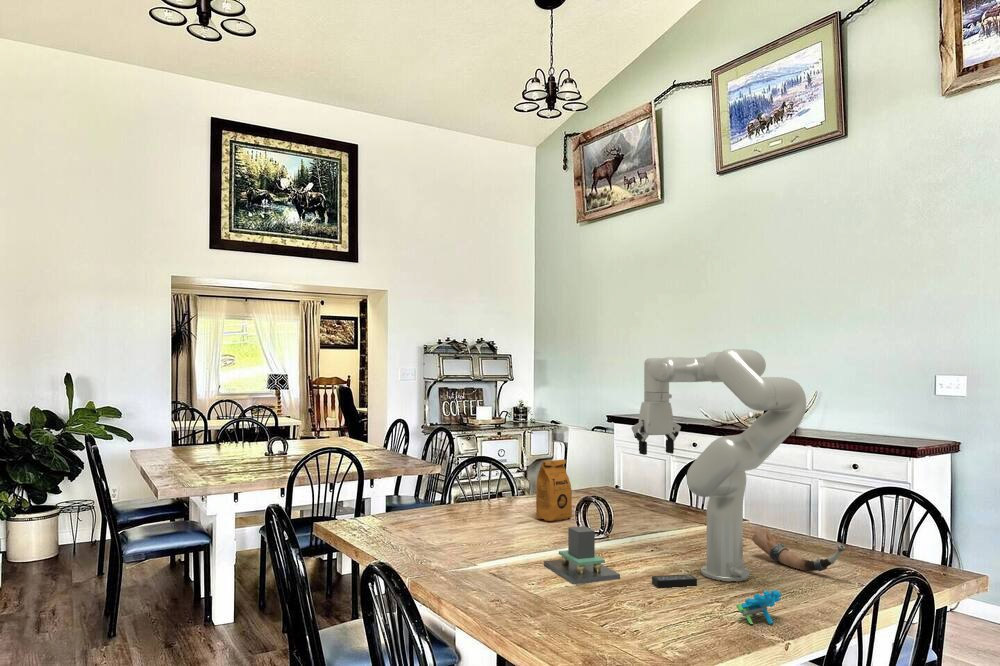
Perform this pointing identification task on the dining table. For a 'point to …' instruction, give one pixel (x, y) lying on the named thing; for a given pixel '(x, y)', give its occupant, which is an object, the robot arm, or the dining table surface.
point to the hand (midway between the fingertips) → (656, 453)
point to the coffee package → (553, 492)
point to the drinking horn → (784, 556)
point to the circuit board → (581, 546)
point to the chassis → (581, 571)
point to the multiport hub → (674, 581)
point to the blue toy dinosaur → (759, 605)
